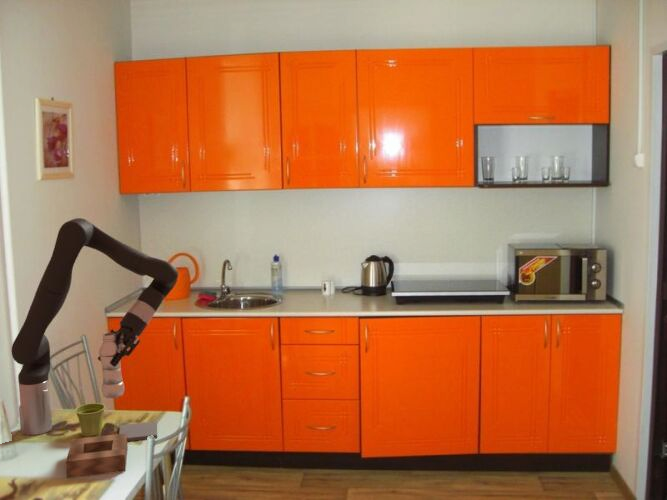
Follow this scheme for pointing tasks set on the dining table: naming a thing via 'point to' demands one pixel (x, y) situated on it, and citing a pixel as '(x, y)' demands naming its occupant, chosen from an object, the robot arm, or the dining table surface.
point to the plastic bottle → (110, 368)
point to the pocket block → (97, 455)
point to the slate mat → (139, 430)
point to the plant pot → (90, 418)
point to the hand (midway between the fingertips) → (106, 362)
